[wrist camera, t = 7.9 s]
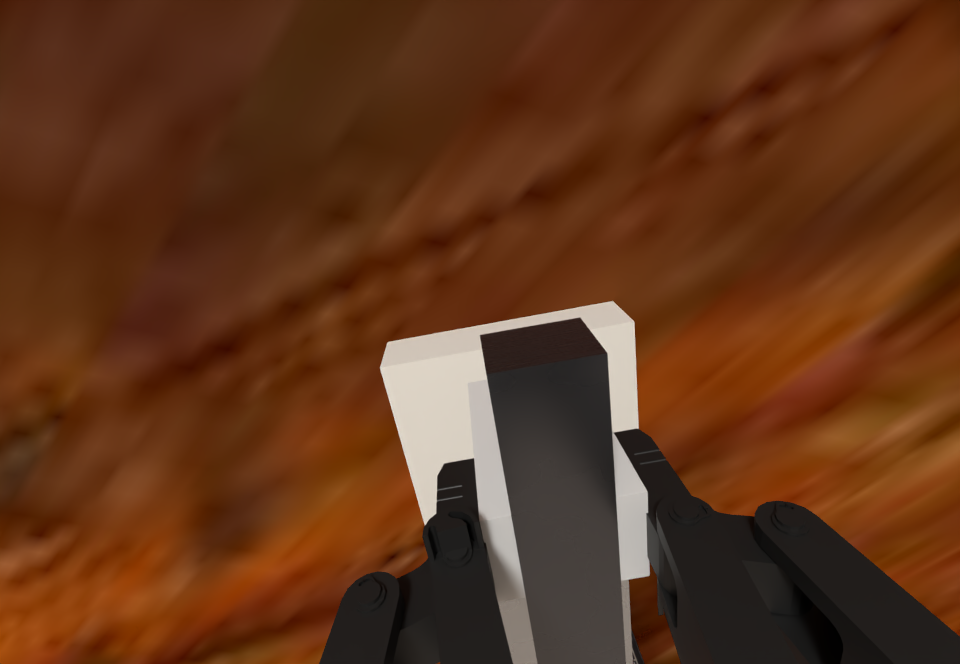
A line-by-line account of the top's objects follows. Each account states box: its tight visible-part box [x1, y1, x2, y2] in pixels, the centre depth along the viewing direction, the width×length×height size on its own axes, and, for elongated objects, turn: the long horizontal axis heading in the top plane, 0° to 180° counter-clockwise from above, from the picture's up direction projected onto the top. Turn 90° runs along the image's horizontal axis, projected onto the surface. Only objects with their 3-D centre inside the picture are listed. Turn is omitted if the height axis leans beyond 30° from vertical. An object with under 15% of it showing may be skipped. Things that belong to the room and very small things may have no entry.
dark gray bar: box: [480, 317, 633, 664], centre depth 16 cm, size 24×6×6 cm, turn 9°
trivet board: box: [380, 301, 639, 525], centre depth 26 cm, size 16×12×3 cm
